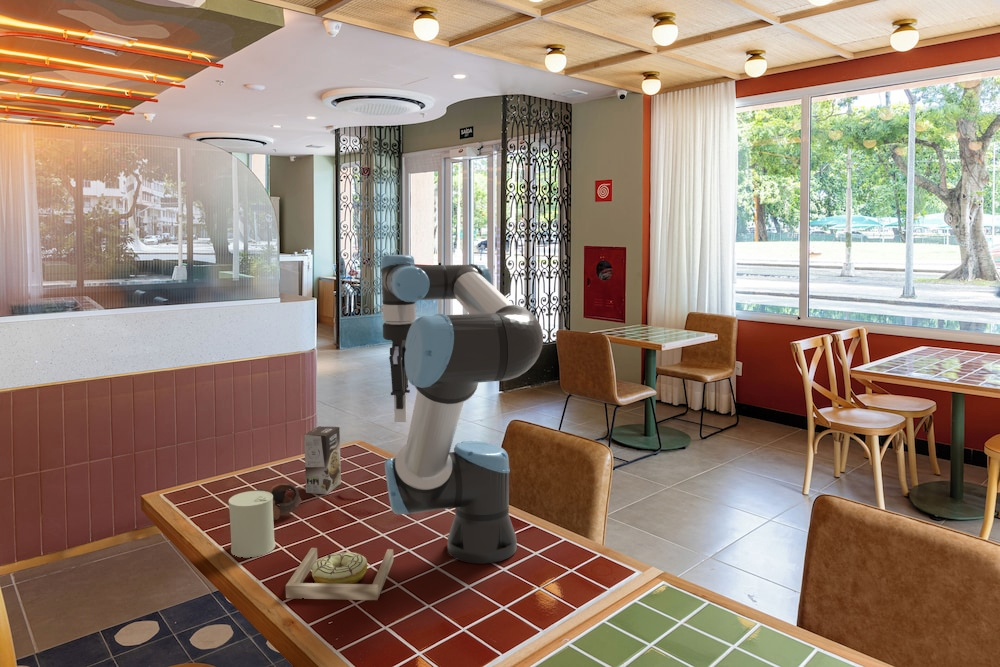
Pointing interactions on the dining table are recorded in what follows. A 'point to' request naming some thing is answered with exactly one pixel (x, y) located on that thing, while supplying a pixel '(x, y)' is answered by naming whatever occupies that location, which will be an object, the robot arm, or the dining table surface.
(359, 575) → the decorated donut
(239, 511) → the can
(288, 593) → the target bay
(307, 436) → the coffee box
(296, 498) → the brown spiked ring
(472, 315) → the robot arm
